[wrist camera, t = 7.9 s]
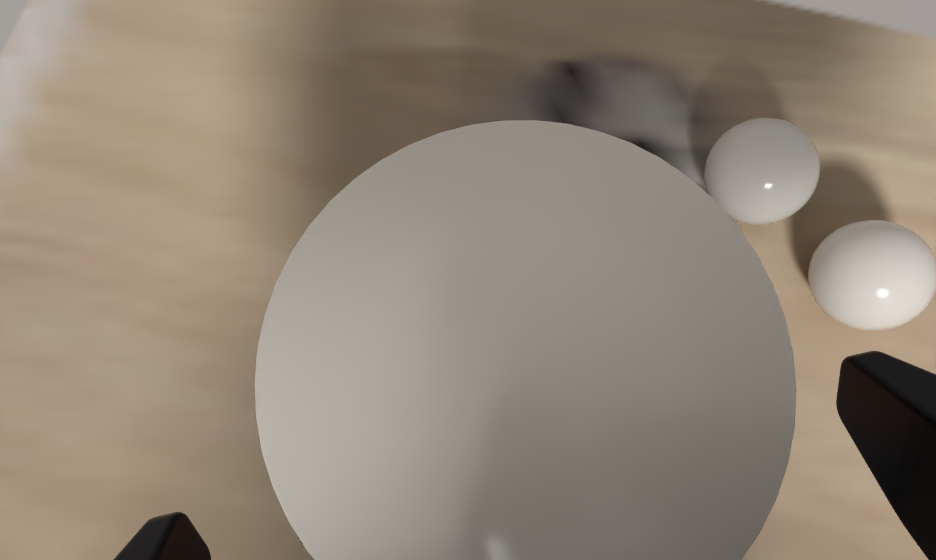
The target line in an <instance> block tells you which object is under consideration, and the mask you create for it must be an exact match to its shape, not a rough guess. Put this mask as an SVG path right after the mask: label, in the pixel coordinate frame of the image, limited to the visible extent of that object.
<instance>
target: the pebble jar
mask: <svg viewBox="0 0 936 560" xmlns="http://www.w3.org/2000/svg"><path fill="white" fill-rule="evenodd" d="M255 405H256V420H257V426H258V432H259V438H260V444H261V450H262V454H263V457H264V461H265V464H266V467H267V470H268V474H269V477H270V480H271V483H272V487H273V489H274V491H275V493H276V495H277V498H278V500H279V502H280V504H281V506H282V509H283V511H284V513H285V515H286V517H287V520H288V521H289V523H290V524H291V526H292V528H293V529H294V531H295V532H296V534H297V536H298V537H299V539H300V540H301V542H302V544H303V545H304V547H305V548H306V550H307V551H308V553H309V554H310V555H311V556H312V557H313V559H314V560H741V559H742V558H743V556H744V555H745V553H746V552H747V551H748V549H749V548H750V546H751V545H752V543H753V542H754V540H755V539H756V537H757V536H758V534H759V533H760V531H761V529H762V527H763V525H764V523H765V521H766V519H767V517H768V515H769V513H770V511H771V509H772V507H773V505H774V503H775V501H776V498H777V495H778V492H779V489H780V486H781V483H782V480H783V477H784V474H785V471H786V468H787V465H788V460H789V455H790V449H791V444H792V439H793V433H794V428H795V407H796V381H795V370H794V359H793V351H792V347H791V342H790V338H789V333H788V329H787V324H786V320H785V317H784V314H783V311H782V308H781V306H780V303H779V300H778V298H777V295H776V292H775V289H774V287H773V284H772V282H771V280H770V278H769V276H768V274H767V273H766V271H765V269H764V267H763V265H762V263H761V261H760V259H759V257H758V255H757V253H756V252H755V250H754V249H753V248H752V246H751V245H750V243H749V242H748V240H747V239H746V237H745V236H744V235H743V233H742V232H741V230H740V229H739V227H738V226H737V224H736V223H735V222H734V221H733V220H732V219H731V218H730V217H729V216H728V214H727V213H726V212H725V211H724V210H723V209H722V208H721V207H720V205H719V204H718V203H717V202H716V201H715V200H714V199H713V198H712V197H711V196H710V195H709V194H707V193H706V192H705V191H704V190H703V189H702V188H700V187H699V186H698V185H697V184H696V183H695V182H694V181H692V180H691V179H690V178H689V177H688V176H686V175H685V174H683V173H682V172H680V171H679V170H677V169H676V168H675V167H673V166H672V165H670V164H669V163H667V162H666V161H664V160H663V159H661V158H660V157H658V156H656V155H654V154H652V153H650V152H648V151H646V150H644V149H642V148H640V147H638V146H636V145H634V144H632V143H630V142H627V141H625V140H622V139H619V138H617V137H614V136H611V135H608V134H606V133H603V132H600V131H596V130H592V129H588V128H584V127H579V126H575V125H571V124H566V123H556V122H547V121H538V120H505V121H495V122H488V123H480V124H473V125H468V126H464V127H460V128H456V129H452V130H448V131H444V132H441V133H437V134H435V135H432V136H430V137H427V138H425V139H422V140H420V141H417V142H415V143H412V144H410V145H408V146H406V147H404V148H402V149H400V150H398V151H396V152H395V153H393V154H391V155H389V156H387V157H385V158H384V159H382V160H380V161H379V162H377V163H376V164H374V165H373V166H372V167H370V168H369V169H367V170H366V171H365V172H363V173H362V174H360V175H359V176H358V177H356V178H355V179H353V180H352V181H351V182H350V183H349V184H348V185H347V186H346V187H345V188H344V189H343V190H341V191H340V192H339V193H338V194H337V195H336V196H335V197H334V198H333V199H332V200H330V202H329V203H328V204H327V205H326V206H325V207H324V209H323V210H322V211H321V212H320V213H319V214H318V216H317V217H316V218H315V219H314V220H313V221H312V223H311V224H310V225H309V226H308V228H307V229H306V231H305V232H304V234H303V235H302V237H301V238H300V240H299V241H298V243H297V244H296V246H295V247H294V249H293V250H292V252H291V254H290V256H289V258H288V260H287V262H286V264H285V266H284V268H283V270H282V272H281V274H280V276H279V278H278V280H277V282H276V284H275V287H274V290H273V293H272V295H271V298H270V301H269V304H268V307H267V310H266V313H265V316H264V320H263V325H262V330H261V334H260V339H259V344H258V348H257V360H256V372H255Z"/></svg>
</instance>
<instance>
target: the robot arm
mask: <svg viewBox="0 0 936 560" xmlns="http://www.w3.org/2000/svg"><path fill="white" fill-rule="evenodd" d="M836 404H837V410H838V414H839V416H840V419H841V420H842V422H843V424H844V426H845V427H846V429H847V431H848V433H849V434H850V436H851V438H852V439H853V441H854V443H855V445H856V446H857V448H858V450H859V451H860V453H861V455H862V456H863V458H864V460H865V462H866V463H867V465H868V467H869V468H870V470H871V472H872V474H873V475H874V477H875V479H876V480H877V482H878V484H879V486H880V487H881V489H882V491H883V492H884V494H885V496H886V497H887V499H888V501H889V503H890V504H891V506H892V507H893V509H894V511H895V512H896V514H897V515H898V517H899V519H900V520H901V522H902V523H903V525H904V526H905V528H906V529H907V530H908V532H909V533H910V535H911V536H912V538H913V539H914V540H915V542H916V543H917V544H918V546H919V547H920V548H921V550H922V551H923V553H924V554H925V555H926V557H927V558H928V559H929V560H936V374H933V373H931V372H928V371H926V370H924V369H921V368H919V367H916V366H914V365H912V364H909V363H907V362H904V361H902V360H899V359H897V358H895V357H892V356H890V355H887V354H885V353H882V352H879V351H870V352H865V353H861V354H857V355H852V356H848V357H846V358H845V359H844V360H843V362H842V364H841V369H840V377H839V385H838V392H837V400H836ZM114 560H211V556H210V552H209V549H208V547H207V545H206V544H205V542H204V541H203V539H202V538H201V536H200V535H199V533H198V532H197V530H196V529H195V527H194V526H193V524H192V523H191V521H190V520H189V518H188V517H187V516H186V515H185V514H183V513H181V512H175V513H170V514H166V515H162V516H158V517H154V518H152V519H150V520H149V521H148V522H146V523H145V524H144V526H143V527H142V528H141V529H140V530H139V531H138V532H137V534H136V535H135V536H134V537H133V538H132V539H131V540H130V542H129V543H128V544H127V545H126V546H125V547H124V548H123V550H122V551H121V552H120V553H119V554H118V555H117V557H116V558H115V559H114Z"/></svg>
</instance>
